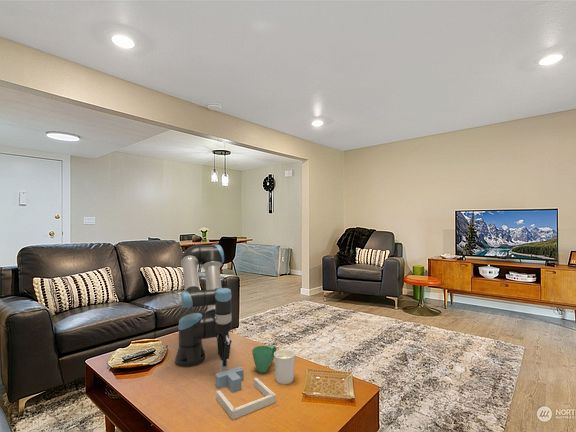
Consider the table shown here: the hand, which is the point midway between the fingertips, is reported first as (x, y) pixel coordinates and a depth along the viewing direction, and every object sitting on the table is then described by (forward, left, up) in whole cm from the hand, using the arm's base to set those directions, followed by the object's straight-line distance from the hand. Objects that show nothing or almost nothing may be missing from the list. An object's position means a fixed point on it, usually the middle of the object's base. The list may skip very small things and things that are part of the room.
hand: (223, 372), depth 144 cm
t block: (+9, 0, -2) cm, 9 cm away
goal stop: (+23, 0, -2) cm, 23 cm away
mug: (+5, +20, -2) cm, 21 cm away
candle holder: (+19, +22, -2) cm, 29 cm away
